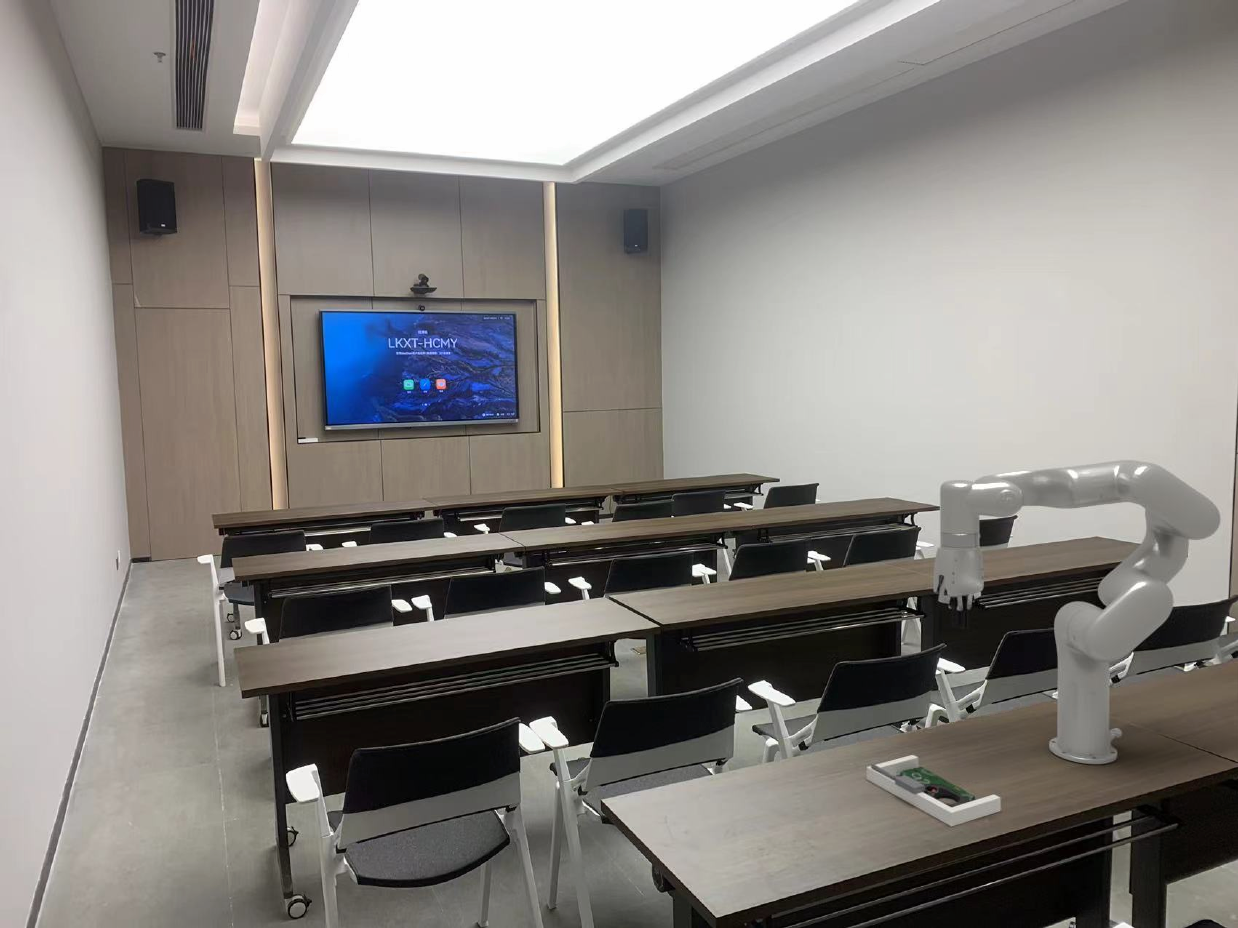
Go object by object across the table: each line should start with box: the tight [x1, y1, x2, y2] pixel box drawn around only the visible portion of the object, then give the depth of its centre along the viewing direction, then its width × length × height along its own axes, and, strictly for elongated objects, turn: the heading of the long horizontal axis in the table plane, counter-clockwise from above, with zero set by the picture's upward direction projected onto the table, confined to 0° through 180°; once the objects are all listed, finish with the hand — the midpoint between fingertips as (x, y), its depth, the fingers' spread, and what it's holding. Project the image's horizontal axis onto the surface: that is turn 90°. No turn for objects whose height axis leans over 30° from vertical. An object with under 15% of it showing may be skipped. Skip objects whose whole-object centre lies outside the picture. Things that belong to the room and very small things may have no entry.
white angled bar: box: [866, 754, 1002, 827], centre depth 169 cm, size 12×22×4 cm, turn 25°
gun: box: [899, 766, 977, 807], centre depth 171 cm, size 16×1×10 cm
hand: (959, 627), depth 185 cm, fingers closed
